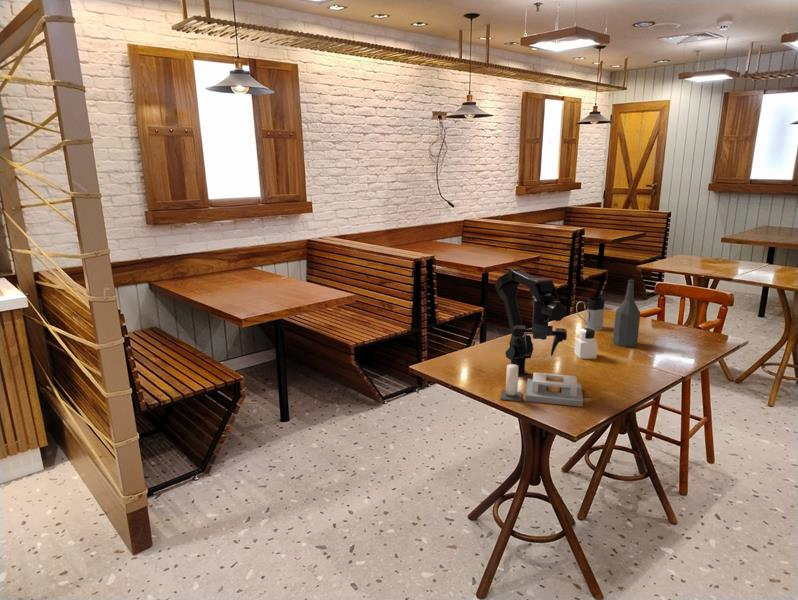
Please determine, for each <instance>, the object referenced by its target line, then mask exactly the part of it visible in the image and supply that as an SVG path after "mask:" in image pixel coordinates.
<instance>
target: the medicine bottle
mask: <svg viewBox="0 0 798 600" xmlns="http://www.w3.org/2000/svg"><path fill="white" fill-rule="evenodd" d="M595 332H596V330H593V329H590V328H585V327H584V328H580V329H579V335H578V336H579V337H576V338H575V339H574V350H573V351H574V354H575V356H576V357H578V358H579V359H580V360H585V359H586V360H587V359H588V360H590V359H592V360H593V359H595V360H596V359H597V356H598V355H597V353H598V346H599V345H598V342H597V341H596V340H595V335H596V334H595Z"/></svg>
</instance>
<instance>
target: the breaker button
mask: <svg viewBox="0 0 798 600" xmlns="http://www.w3.org/2000/svg"><path fill="white" fill-rule="evenodd" d="M548 392H558V393H561V392H560V387H559V386H551V385H550V386H548Z"/></svg>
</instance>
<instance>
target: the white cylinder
mask: <svg viewBox="0 0 798 600" xmlns="http://www.w3.org/2000/svg"><path fill="white" fill-rule="evenodd" d="M518 368H519V366H518V365H515V364H511V363H510V364H507V365H506V374H505V375H506V377H505V378H506V379H505V391H506V396H507V397H510V398H515V397H517V392H518V383H519V375H518Z"/></svg>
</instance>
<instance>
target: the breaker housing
mask: <svg viewBox="0 0 798 600" xmlns="http://www.w3.org/2000/svg"><path fill="white" fill-rule="evenodd" d="M547 378H552V379H553V378H554V379H562V381H559V380H549V379H548V380H547ZM577 380H578V379H577V376H575V375H565V374H555V373H544V372H533V375H532V378H527V383H526V390H525V391H526V392H525V401H526V402H533V403H534V402H535V403H543V404H553V405H561V406H562V405H563V406H564V405H565V406H569V407H570V406H572V407H580V408H581V407H583V406H584V400H583V399H584V398H583V389H582V383H579V382H578V381H577ZM550 385H551V386H559V387H560V393H558V392H548V386H550Z"/></svg>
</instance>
